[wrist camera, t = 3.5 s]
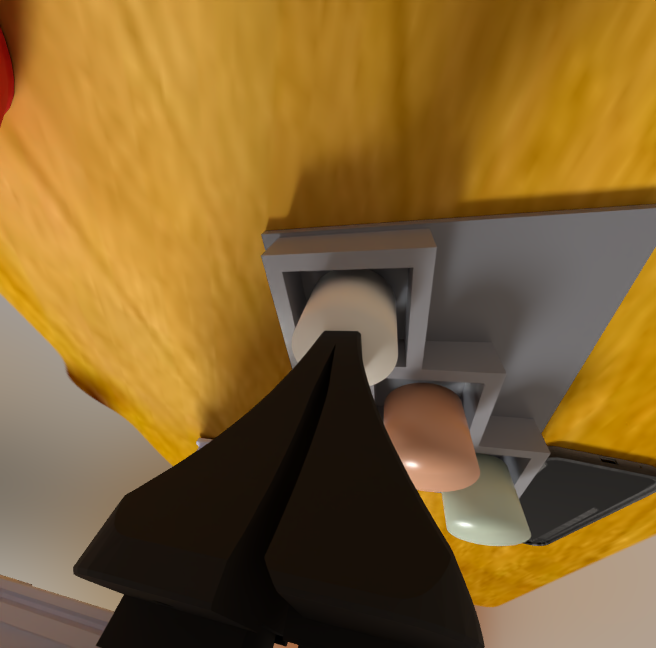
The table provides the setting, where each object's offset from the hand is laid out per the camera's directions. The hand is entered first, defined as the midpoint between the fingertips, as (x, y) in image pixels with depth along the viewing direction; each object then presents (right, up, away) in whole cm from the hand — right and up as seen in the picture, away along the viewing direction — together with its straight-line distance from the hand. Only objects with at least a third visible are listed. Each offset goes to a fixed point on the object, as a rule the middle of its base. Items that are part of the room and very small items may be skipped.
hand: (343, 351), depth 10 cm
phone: (+17, -13, +12) cm, 25 cm away
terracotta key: (+4, -4, +4) cm, 7 cm away
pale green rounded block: (+9, -8, +7) cm, 14 cm away
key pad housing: (+5, -2, +6) cm, 8 cm away
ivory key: (+1, +2, +3) cm, 3 cm away
